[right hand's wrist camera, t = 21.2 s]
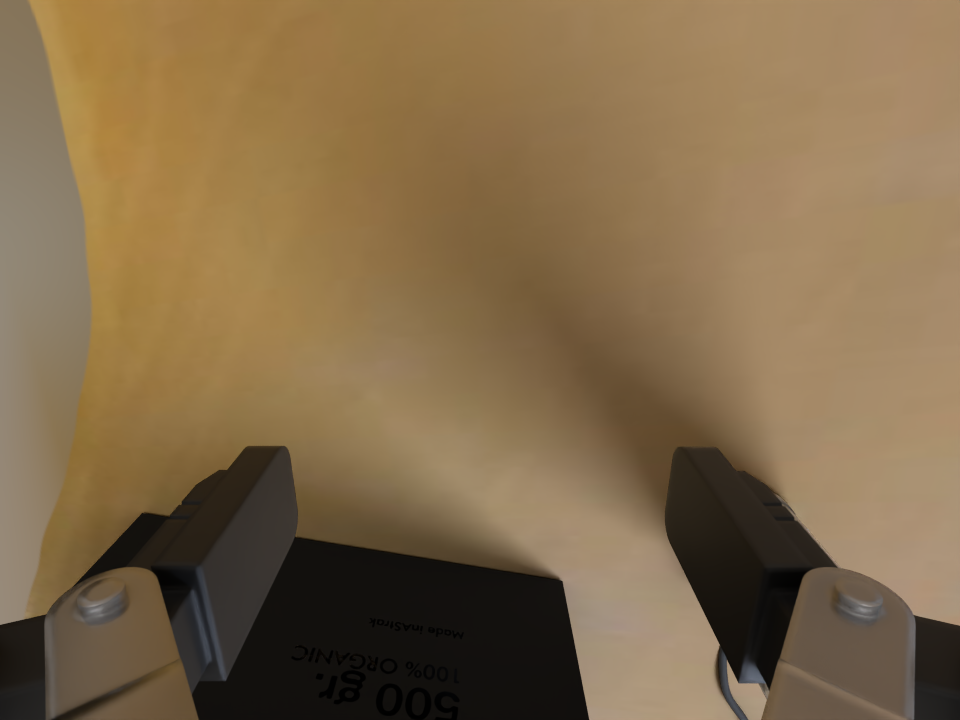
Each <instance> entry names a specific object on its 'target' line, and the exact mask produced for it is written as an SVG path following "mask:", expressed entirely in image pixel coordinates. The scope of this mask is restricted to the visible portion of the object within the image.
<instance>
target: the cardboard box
mask: <svg viewBox="0 0 960 720" xmlns="http://www.w3.org/2000/svg"><path fill="white" fill-rule="evenodd" d="M166 520H169V517H163V516H157V515H151V514H145V513H142V514H141V515H140V516H139V517H138V518H137V519H136V520H135V521H134V522H133V524H132V525H131V526H130V527H129V528H128V529H127V530H126V531H125V532H124V533H123V534H122V535H121V536H120V537H119V538H118V539H117V541H116V542H115V543H114V544H113V545H112V546H111V547H110V548H109V549H108V550H107V551H106V552H105V553H104V554H103V555H102V556H101V558H100V559H99V560H98V561H97V562H96V563H95V564H94V565H93V566H92V567H91V568H90V569H89V570H88V571H87V572H86V573H85V575H84V576H83V577H82V578H81V579H80V580H79V581H78V582H77V583H76V584H75V585H77V584H79V583H80V582H82V581H84V580H86V579H88V578H90V577H93V576H95V575H97V574H100V573H103V572H106V571H109V570H113V569H118V568H125V567H126V566H127V565H128V564H129V562H130V561H131V560H132V559H133V558H134V557H135V556H136V554H137V553H138V552H139V551H140V550H141V549H142V547H143V546H144V545H145V544H146V543H147V542H148V540H149V539H150V538H151V537H152V536H153V535H154V533H155V532H156V531H157V530H158V529H159V528H160V526H161V525H162V524H163V523H164V522H165V521H166ZM75 585H74V586H75ZM74 586H73V587H74ZM298 645H302V646H305V650H304V649H303V648H296V646H298ZM319 649H321V651H322V652H323V653H324V654H325V656H326V657H327V658H326V660H325V659H324V658H323V657H322V655H320V657H319V660H318V662H316V661H315V659H316V656H318V652H319ZM335 651H338V654H339V655H344V656H343V660H344V661H343V662H342V663H341V664H340V665H339V664H338V662H337V658H336V654H335ZM304 654H306V655H307V656H306V657H305V658H304V659H300V658H301V657H303V656H304ZM353 654H361V655H363V656H364V657H365V659H366V660H365V659H364V658H361V657H359V656H355V657H353V659H356V661H351V657H352V655H353ZM310 655H311V656H313V658H312V661H309V660H308V659H309V656H310ZM368 656H371V658H372V659H373V661H374V662H375V663H376V665H377V668H376V670H374V669H373V667H374V665H370V668H372V669H370V668H369V666H368V664H369V663H370V662H371V661H370V659H369V658H368ZM330 658H331V661H330V663H329V660H330ZM339 659H340V661H341V659H342V658H341V657H340V658H339ZM351 664H352V665H353V666H355V667H353V666H350V665H351ZM358 666H359V667H358ZM192 698H193V702H194V705H195V709H196V712H197V716H198V719H199V720H589V716H588V711H587V706H586V701H585V696H584V691H583V685H582V680H581V675H580V670H579V665H578V659H577V654H576V649H575V644H574V639H573V634H572V628H571V623H570V618H569V613H568V608H567V602H566V597H565V592H564V587H563V582H562V581H559V580H553V579H547V578H541V577H534V576H528V575H522V574H516V573H510V572H503V571H497V570H491V569H485V568H479V567H473V566H466V565H460V564H454V563H448V562H442V561H435V560H429V559H423V558H417V557H411V556H405V555H398V554H392V553H386V552H380V551H374V550H367V549H361V548H355V547H349V546H343V545H336V544H330V543H324V542H318V541H312V540H306V539H299V538H294V540H293V542H292V545H291V547H290V549H289V551H288V553H287V555H286V557H285V559H284V561H283V563H282V565H281V567H280V569H279V571H278V574H277V576H276V578H275V580H274V582H273V584H272V586H271V588H270V590H269V592H268V594H267V596H266V598H265V600H264V602H263V605H262V607H261V609H260V611H259V613H258V615H257V617H256V619H255V621H254V623H253V625H252V627H251V629H250V631H249V633H248V636H247V638H246V640H245V642H244V644H243V646H242V648H241V650H240V652H239V654H238V656H237V658H236V660H235V662H234V665H233V667H232V669H231V671H230V673H229V675H228V677H227V679H226V681H199V682H198V684H197V685H196V687H195V689H194V691H193V693H192Z"/></svg>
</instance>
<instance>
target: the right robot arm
mask: <svg viewBox="0 0 960 720" xmlns="http://www.w3.org/2000/svg"><path fill="white" fill-rule="evenodd" d="M297 522H298V509H297V502H296V495H295V487H294V480H293V473H292V466H291V459H290V454H289V451H288V449H287V448H286V447H285V446H247V447H246V448H245V449H244V450H243V451H242V452H241V454H240V455H239V456H238V457H237V459H236V460H235V461H234V462H233V464H232V465H231V466H230V467H229V469H228V470H219V471H217V472H215V473H214V474H212V475H211V476H209V477H208V478H206V479H204V480H203V481H201V482H200V483H198V484H197V485H196V486H195V487H194V488H193V489H192V490H191V492H190V493H189V494H188V495H187V496H186V497H185V498H184V500H183V501H182V505H178V507H177V508H176V509H175V510H174V511H173V512H172V514H171V515H170V518H169V520H166V521H165V522H164V523H163V524H162V525H161V526H160V528H159V529H158V530H157V531H156V532H155V533H154V535H153V536H152V537H151V538H150V539H149V540H148V542H147V543H146V544H145V545H144V546H143V547H142V549H141V550H140V551H139V552H138V553H137V554H136V556H135V557H134V558H133V559H132V560H131V561H130V562H129V564H128V565H127V566H126V567H125V568H118V569H113V570H109V571H106V572H103V573H100V574H97V575H95V576H93V577H90V578H88V579H86V580H84V581H82V582H80V583H79V584H77V585H75V586H74V587H72V588H71V589H70V590H68V591H67V592H65V593H64V594H63V595H62V596H61V597H60V598H59V599H58V600H57V601H56V602H55V603H54V604H53V605H52V607H51V608H50V610H49V611H48V613H47V614H46V615H42V616H38V617H33V618H29V619H24V620H20V621H16V622H11V623H7V624H2V625H0V720H199V719H198V716H197V712H196V709H195V705H194V702H193V698H192V693H193V691H194V689H195V687H196V685H197V684H198V682H199V681H226V679H227V677H228V675H229V673H230V671H231V669H232V667H233V665H234V662H235V660H236V658H237V656H238V654H239V652H240V650H241V648H242V646H243V644H244V642H245V640H246V638H247V636H248V633H249V631H250V629H251V627H252V625H253V623H254V621H255V619H256V617H257V615H258V613H259V611H260V609H261V607H262V605H263V602H264V600H265V598H266V596H267V594H268V592H269V590H270V588H271V586H272V584H273V582H274V580H275V578H276V576H277V574H278V571H279V569H280V567H281V565H282V563H283V561H284V559H285V557H286V555H287V553H288V551H289V549H290V547H291V545H292V542H293V540H294V537H295V534H296V529H297ZM665 525H666V531H667V536H668V539H669V542H670V544H671V546H672V548H673V550H674V552H675V554H676V556H677V558H678V560H679V562H680V564H681V566H682V568H683V570H684V573H685V575H686V577H687V579H688V581H689V583H690V585H691V587H692V589H693V591H694V593H695V595H696V597H697V599H698V601H699V603H700V605H701V607H702V609H703V611H704V613H705V615H706V617H707V620H708V622H709V624H710V626H711V628H712V630H713V632H714V634H715V636H716V638H717V640H718V642H719V644H720V650H719V676H720V684H721V688H722V692H723V694H724V696H725V699H726V700H727V702H728V704H729V705H730V707H731V708H732V710H733V711H734V712H735V714H736V715H737V716H738V718H739V719H740V720H748V719H747V717H746V716H745V714H744V713H743V711H742V710H741V709H740V707H739V706H738V705H737V703H736V702H735V700H734V699H733V697H732V695H731V692H730V689H729V685H728V677H727V660H728V662H729V664H730V666H731V669H732V671H733V673H734V675H735V677H736V679H737V681H738V683H758V684H759V685H760V687H761V689H762V691H763V693H764V695H765V697H766V699H767V702H766V705H765V709H764V712H763V716H762V719H761V720H960V626H958V625H954V624H949V623H945V622H941V621H936V620H932V619H927V618H923V617H919V616H915V615H913V613H912V611H911V610H910V608H909V607H908V605H907V604H906V603H905V602H904V601H903V600H902V599H901V598H900V597H899V596H898V595H897V594H896V593H895V592H893V591H892V590H890V589H889V588H888V587H886V586H885V585H883V584H881V583H880V582H878V581H876V580H874V579H872V578H870V577H867V576H865V575H863V574H860V573H857V572H854V571H851V570H846V569H842V568H841V567H840V566H839V565H838V564H837V562H836V561H835V560H834V559H833V558H832V557H831V556H830V554H829V553H828V552H827V551H826V550H825V549H824V548H823V546H822V545H821V544H820V543H819V542H818V541H817V540H816V538H815V537H814V536H813V535H812V534H811V533H810V531H809V530H808V529H807V528H806V527H805V526H804V524H803V523H802V522H801V521H800V520H799V519H798V518H797V517H796V515H795V513H794V512H793V510H792V509H791V508H790V507H789V505H788V504H787V503H786V502H785V501H784V500H783V499H782V498H781V497H780V496H778V495H777V494H775V493H773V492H772V491H771V490H770V488H769V487H768V486H767V485H765V484H764V483H762V482H760V481H759V480H757V479H756V478H754V477H753V476H751V475H749V474H748V473H746V472H745V471H736V470H735V469H734V468H733V467H732V465H731V464H730V463H729V462H728V460H727V459H726V458H725V457H724V455H723V454H722V453H721V452H720V450H719V449H718V448H716V447H678V448H676V450H675V452H674V455H673V459H672V466H671V473H670V480H669V487H668V494H667V501H666V508H665Z"/></svg>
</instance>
